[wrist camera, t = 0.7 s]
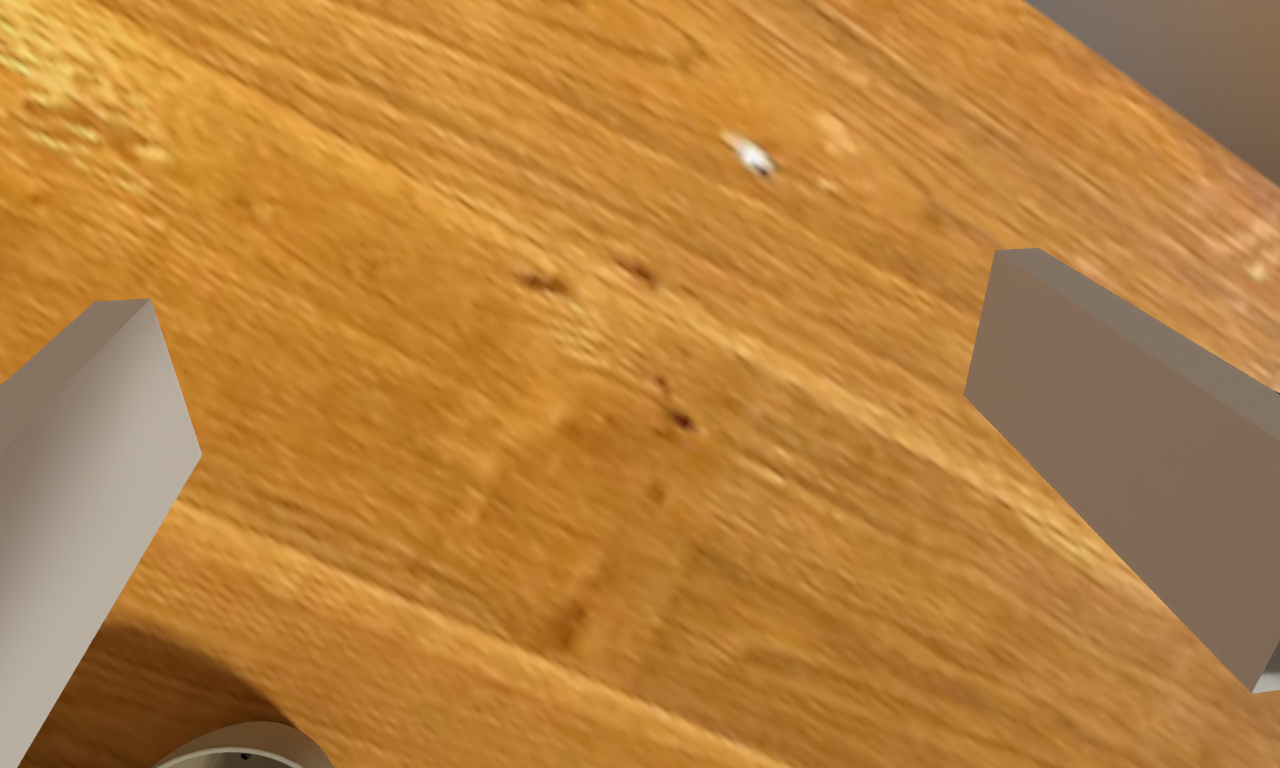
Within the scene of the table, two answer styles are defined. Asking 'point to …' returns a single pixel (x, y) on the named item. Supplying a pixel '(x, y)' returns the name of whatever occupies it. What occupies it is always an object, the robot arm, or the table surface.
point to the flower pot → (249, 749)
